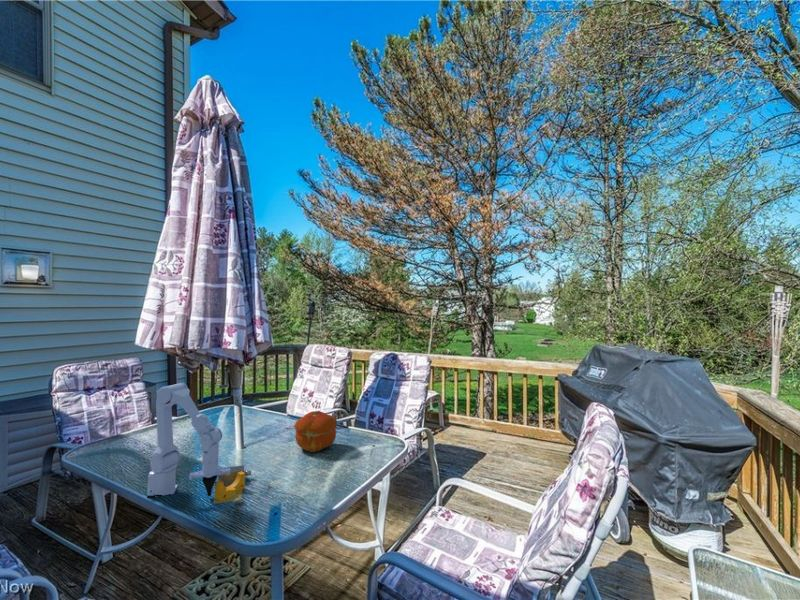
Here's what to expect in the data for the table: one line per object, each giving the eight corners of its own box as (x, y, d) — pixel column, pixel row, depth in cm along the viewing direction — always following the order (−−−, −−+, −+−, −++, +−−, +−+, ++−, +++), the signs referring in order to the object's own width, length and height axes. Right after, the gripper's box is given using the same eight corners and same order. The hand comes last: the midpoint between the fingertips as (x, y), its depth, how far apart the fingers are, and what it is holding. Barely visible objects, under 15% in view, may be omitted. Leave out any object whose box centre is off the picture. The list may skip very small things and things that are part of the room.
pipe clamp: (221, 501, 149) (221, 485, 149) (214, 498, 151) (215, 482, 151) (247, 489, 159) (248, 473, 159) (240, 486, 162) (241, 471, 162)
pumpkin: (286, 447, 208) (287, 410, 209) (322, 438, 223) (323, 404, 224) (306, 460, 191) (307, 420, 191) (344, 449, 206) (345, 412, 206)
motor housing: (213, 503, 148) (214, 490, 148) (219, 479, 168) (219, 468, 168) (249, 498, 152) (250, 486, 152) (251, 475, 173) (251, 464, 173)
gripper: (188, 466, 146) (187, 502, 145) (229, 462, 151) (228, 496, 150) (191, 459, 152) (190, 494, 152) (230, 455, 157) (230, 488, 157)
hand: (209, 494), depth 152 cm, fingers closed
